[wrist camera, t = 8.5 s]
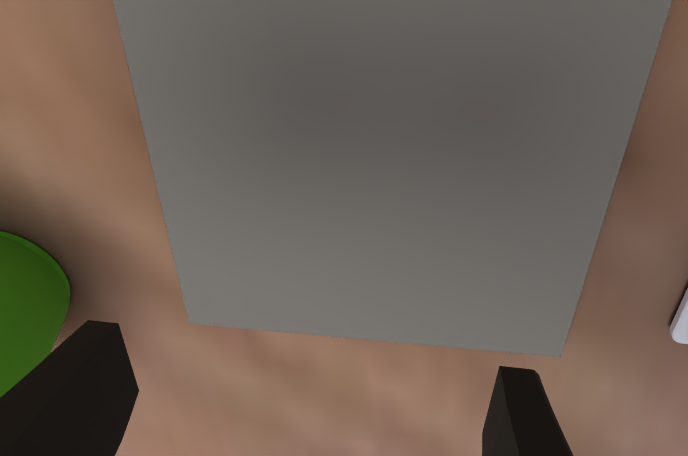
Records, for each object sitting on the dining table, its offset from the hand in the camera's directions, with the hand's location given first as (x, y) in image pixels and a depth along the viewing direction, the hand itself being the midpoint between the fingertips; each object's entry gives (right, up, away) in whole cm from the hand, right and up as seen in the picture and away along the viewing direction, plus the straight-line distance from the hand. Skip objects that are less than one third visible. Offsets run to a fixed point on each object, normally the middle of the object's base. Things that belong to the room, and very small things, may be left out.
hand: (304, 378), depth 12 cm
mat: (+2, +5, +9) cm, 10 cm away
